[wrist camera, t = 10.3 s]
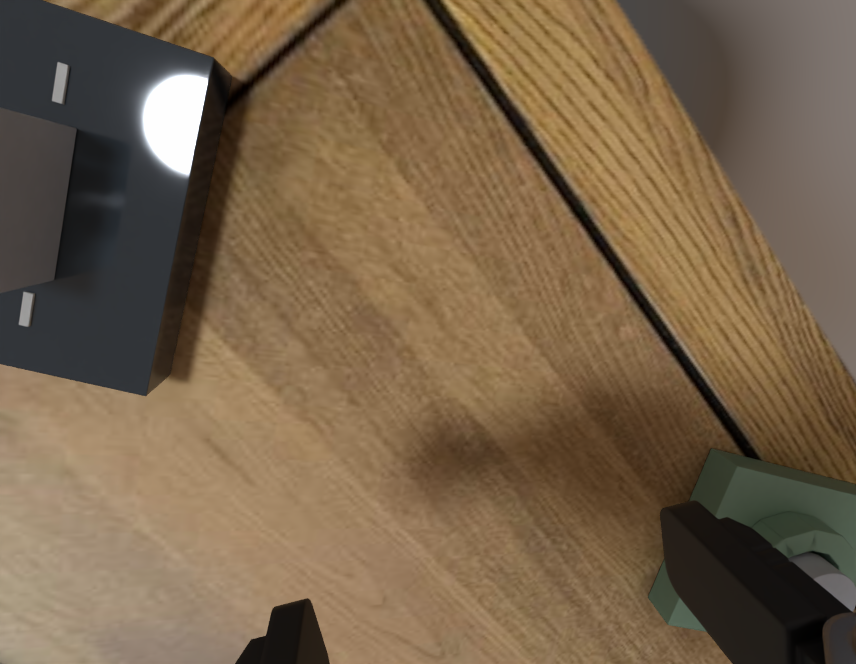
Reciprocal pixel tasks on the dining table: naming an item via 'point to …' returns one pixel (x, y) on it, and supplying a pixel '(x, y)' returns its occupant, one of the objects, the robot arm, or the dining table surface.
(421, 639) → the dining table surface
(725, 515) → the button block
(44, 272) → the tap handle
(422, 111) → the dining table surface
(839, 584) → the button
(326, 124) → the dining table surface
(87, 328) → the lever base
